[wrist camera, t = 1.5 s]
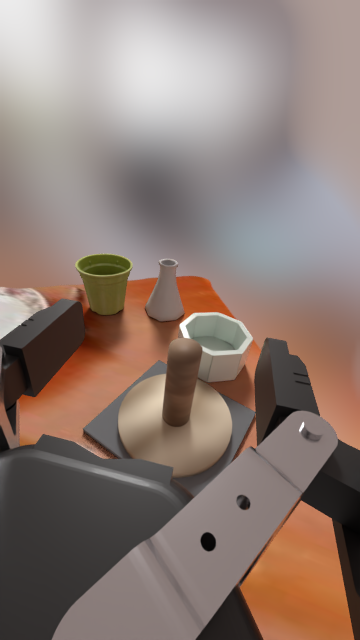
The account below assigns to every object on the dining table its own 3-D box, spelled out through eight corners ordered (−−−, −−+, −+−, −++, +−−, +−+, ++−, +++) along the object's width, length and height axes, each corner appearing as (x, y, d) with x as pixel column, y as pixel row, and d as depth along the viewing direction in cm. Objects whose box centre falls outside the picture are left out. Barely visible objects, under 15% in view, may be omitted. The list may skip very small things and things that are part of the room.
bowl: (165, 360, 41) (168, 333, 38) (198, 330, 48) (202, 305, 45) (225, 392, 37) (233, 365, 34) (251, 354, 44) (259, 329, 41)
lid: (93, 430, 30) (83, 354, 24) (162, 365, 39) (168, 298, 33) (195, 507, 25) (216, 436, 19) (246, 411, 34) (272, 342, 28)
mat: (83, 431, 30) (83, 428, 30) (158, 362, 40) (158, 360, 40) (201, 522, 24) (202, 520, 24) (254, 414, 34) (255, 412, 34)
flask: (138, 307, 52) (139, 257, 47) (168, 298, 56) (173, 251, 51) (159, 326, 48) (163, 274, 42) (191, 315, 52) (198, 266, 46)
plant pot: (80, 323, 46) (74, 276, 41) (80, 295, 54) (75, 253, 49) (135, 319, 49) (136, 274, 44) (128, 293, 56) (128, 253, 52)
